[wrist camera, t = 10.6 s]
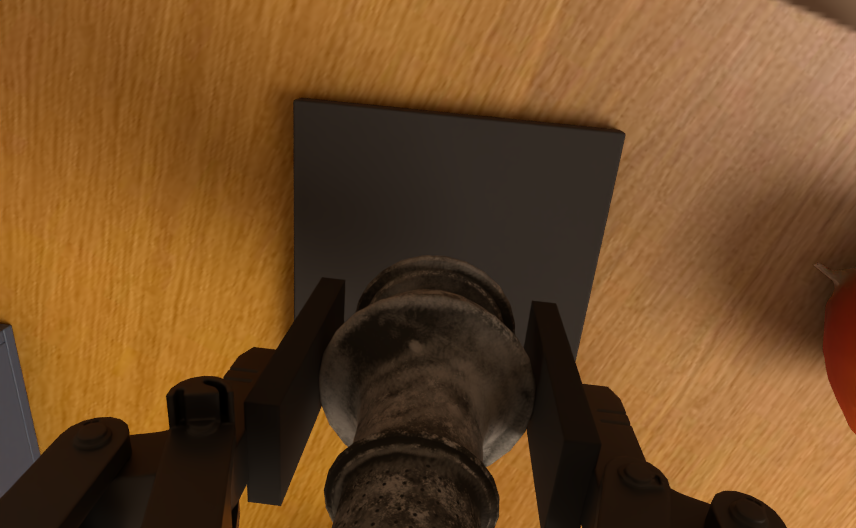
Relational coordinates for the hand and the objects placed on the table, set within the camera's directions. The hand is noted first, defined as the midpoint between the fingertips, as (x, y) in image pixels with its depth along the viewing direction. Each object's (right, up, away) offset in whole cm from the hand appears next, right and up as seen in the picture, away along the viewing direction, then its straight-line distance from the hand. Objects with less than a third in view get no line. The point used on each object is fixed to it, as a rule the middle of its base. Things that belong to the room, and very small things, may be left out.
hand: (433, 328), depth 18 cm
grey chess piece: (0, 0, +1) cm, 1 cm away
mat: (0, +2, +5) cm, 6 cm away
